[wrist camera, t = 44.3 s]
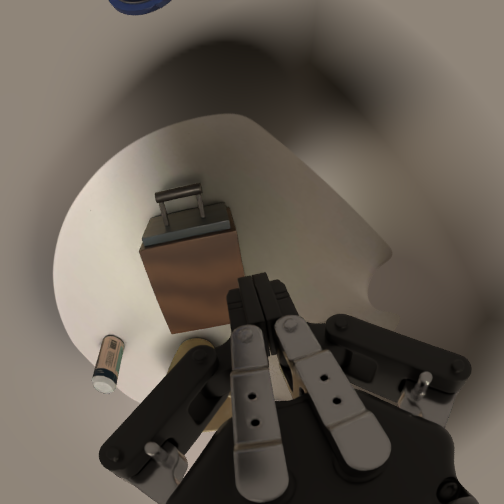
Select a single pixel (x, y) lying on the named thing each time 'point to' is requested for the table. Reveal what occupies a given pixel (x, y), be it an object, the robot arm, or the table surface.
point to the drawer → (184, 218)
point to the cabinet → (195, 278)
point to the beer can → (108, 365)
